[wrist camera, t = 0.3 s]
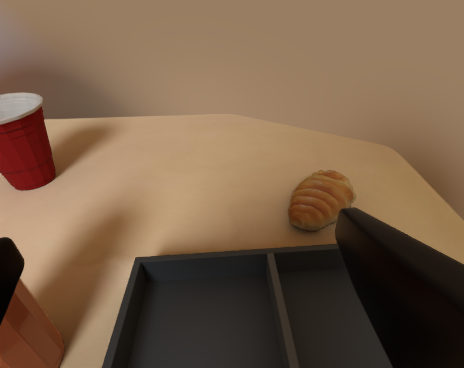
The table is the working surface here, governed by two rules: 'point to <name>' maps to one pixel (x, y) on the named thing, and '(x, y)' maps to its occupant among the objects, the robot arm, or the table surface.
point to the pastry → (320, 200)
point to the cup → (29, 334)
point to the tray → (244, 312)
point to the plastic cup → (24, 142)
